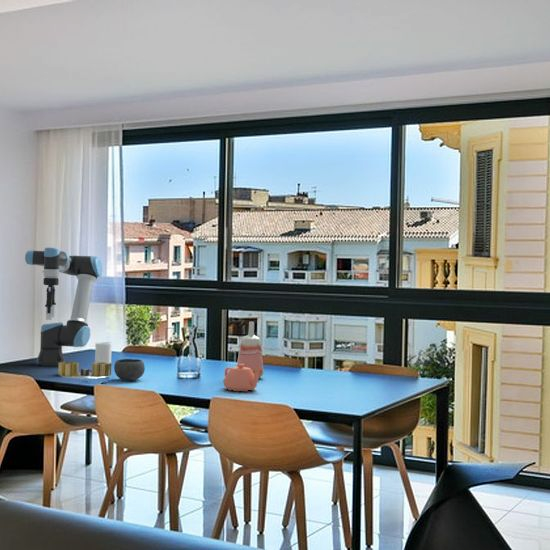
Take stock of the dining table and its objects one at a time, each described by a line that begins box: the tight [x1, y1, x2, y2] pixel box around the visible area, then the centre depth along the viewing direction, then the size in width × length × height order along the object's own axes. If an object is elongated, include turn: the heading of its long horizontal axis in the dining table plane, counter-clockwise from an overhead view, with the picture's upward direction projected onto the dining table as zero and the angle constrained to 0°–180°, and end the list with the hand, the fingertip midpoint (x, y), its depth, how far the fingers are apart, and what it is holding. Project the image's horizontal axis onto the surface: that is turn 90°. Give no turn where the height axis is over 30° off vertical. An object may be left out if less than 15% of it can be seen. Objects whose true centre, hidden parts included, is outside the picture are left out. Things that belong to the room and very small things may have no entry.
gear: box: [57, 361, 80, 377], centre depth 392 cm, size 10×10×6 cm
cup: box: [94, 341, 113, 364], centre depth 411 cm, size 8×8×16 cm
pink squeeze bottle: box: [236, 321, 264, 378], centre depth 412 cm, size 14×14×30 cm
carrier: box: [61, 367, 110, 383], centre depth 393 cm, size 24×24×6 cm
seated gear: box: [90, 361, 112, 378], centre depth 395 cm, size 10×10×6 cm
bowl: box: [113, 358, 146, 382], centre depth 391 cm, size 15×15×10 cm
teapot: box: [222, 364, 262, 392], centre depth 372 cm, size 22×16×12 cm
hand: (50, 318), depth 405 cm, fingers open, 13 cm apart
